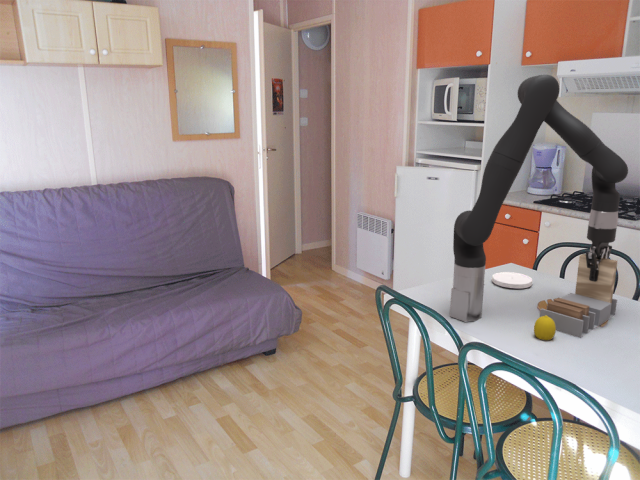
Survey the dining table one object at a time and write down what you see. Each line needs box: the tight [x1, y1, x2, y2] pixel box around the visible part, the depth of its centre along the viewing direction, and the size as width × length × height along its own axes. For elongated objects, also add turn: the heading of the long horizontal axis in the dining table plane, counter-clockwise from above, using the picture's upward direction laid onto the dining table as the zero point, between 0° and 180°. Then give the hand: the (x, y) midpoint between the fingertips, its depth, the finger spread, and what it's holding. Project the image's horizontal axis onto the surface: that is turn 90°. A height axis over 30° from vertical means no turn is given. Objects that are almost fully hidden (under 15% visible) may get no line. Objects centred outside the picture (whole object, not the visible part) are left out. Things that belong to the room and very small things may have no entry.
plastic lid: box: [491, 271, 533, 289], centre depth 190 cm, size 14×14×2 cm
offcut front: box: [546, 300, 583, 320], centre depth 148 cm, size 2×9×7 cm, turn 41°
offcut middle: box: [553, 297, 589, 316], centre depth 150 cm, size 2×9×7 cm, turn 41°
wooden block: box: [574, 253, 618, 305], centre depth 158 cm, size 2×10×16 cm, turn 40°
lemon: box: [533, 315, 557, 341], centre depth 143 cm, size 6×6×8 cm
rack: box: [539, 292, 618, 339], centre depth 154 cm, size 24×12×6 cm, turn 131°
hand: (595, 279), depth 158 cm, fingers closed on wooden block, 2 cm apart
